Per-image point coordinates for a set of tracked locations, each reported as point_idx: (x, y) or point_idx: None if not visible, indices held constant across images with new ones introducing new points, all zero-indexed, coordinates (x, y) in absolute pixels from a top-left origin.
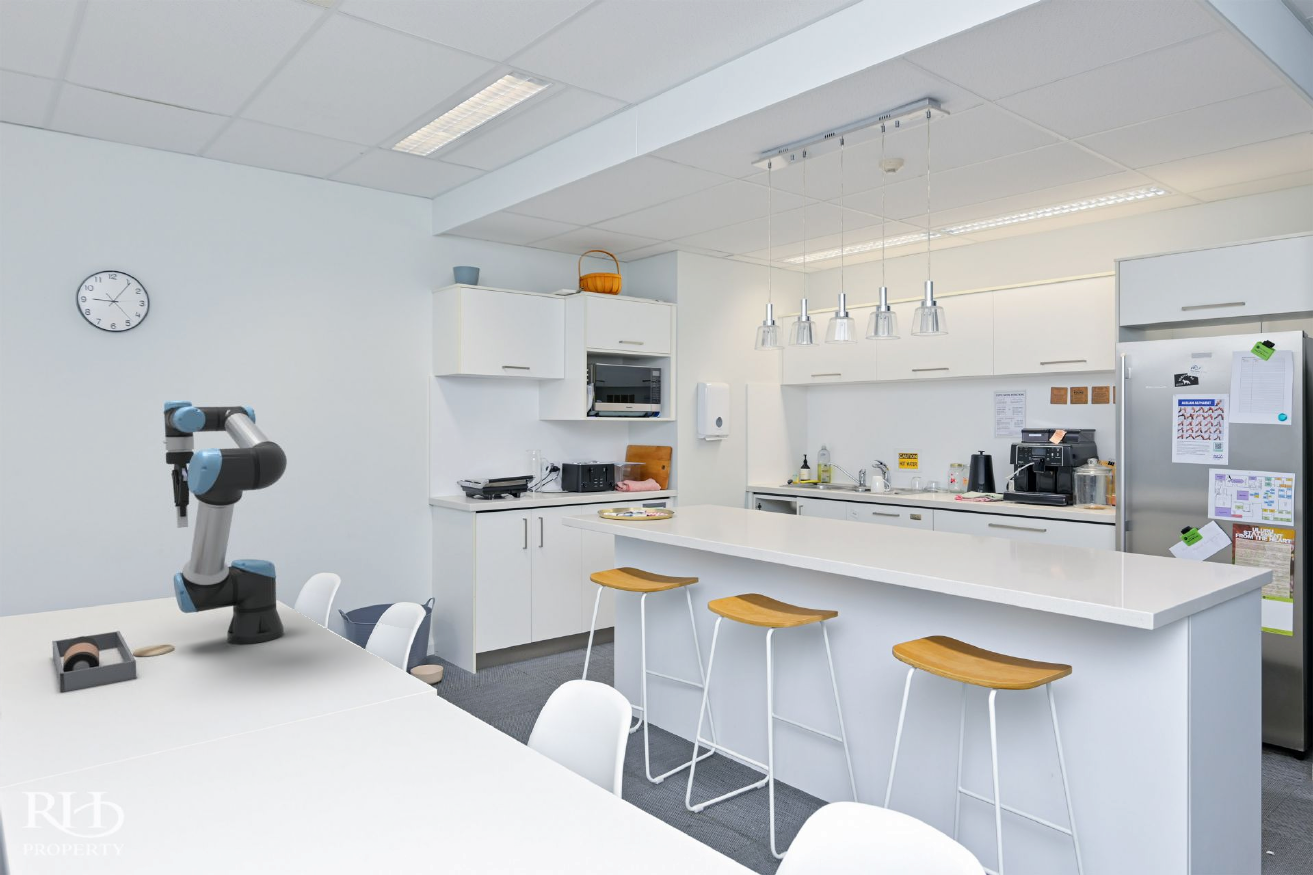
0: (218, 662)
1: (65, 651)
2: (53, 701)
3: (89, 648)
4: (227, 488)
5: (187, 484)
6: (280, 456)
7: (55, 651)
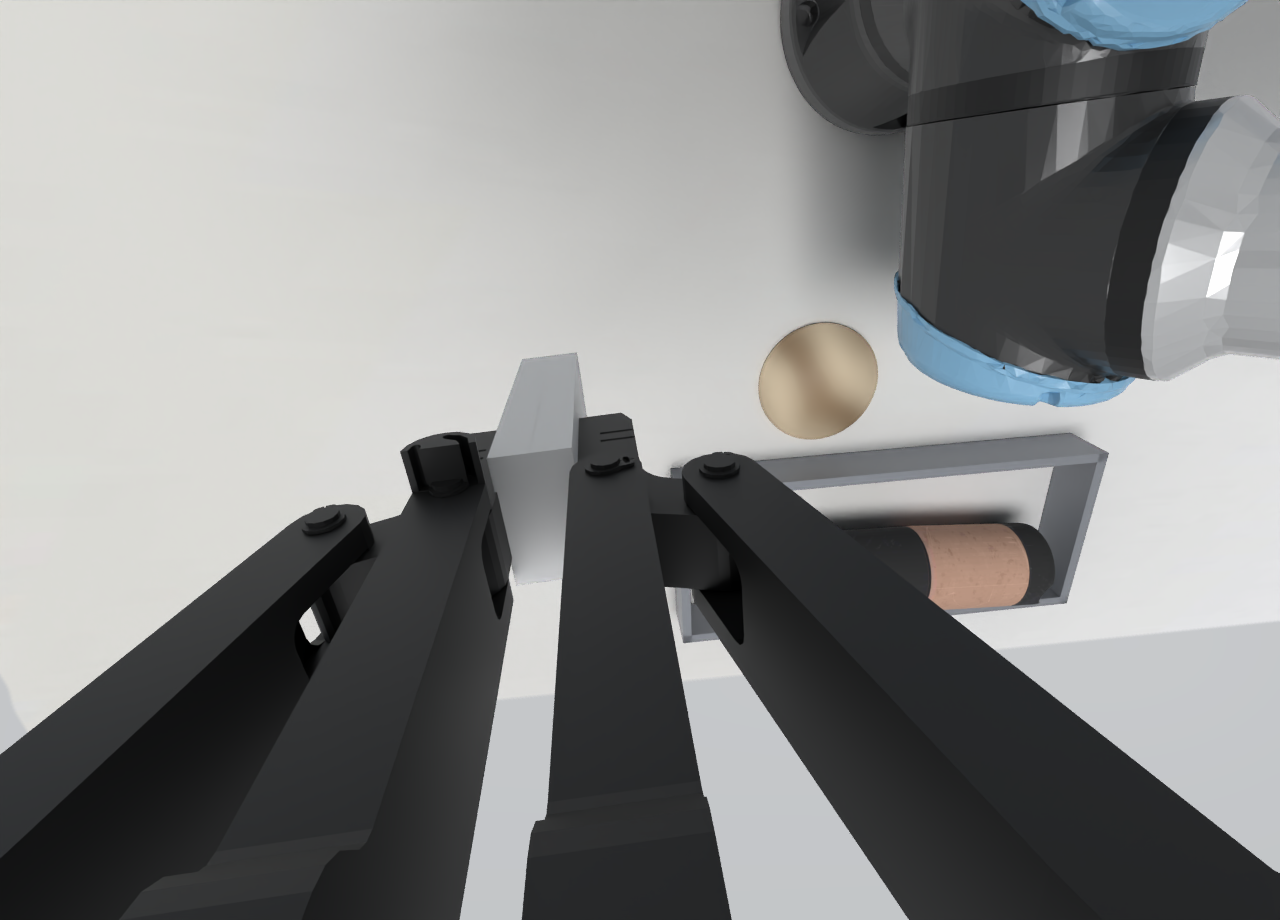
0: None
1: None
2: (1092, 582)
3: (989, 570)
4: None
5: (1109, 799)
6: None
7: None
